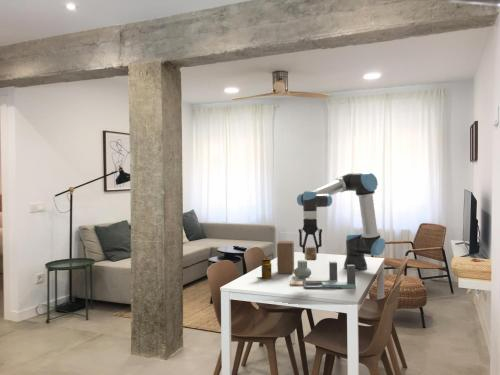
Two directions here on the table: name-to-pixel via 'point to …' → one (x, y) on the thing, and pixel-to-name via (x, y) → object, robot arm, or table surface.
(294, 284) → the cork trivet
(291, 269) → the wooden block
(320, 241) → the robot arm
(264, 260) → the condiment
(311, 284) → the lane rails
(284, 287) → the table surface
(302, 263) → the air freshener
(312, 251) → the walnut block
